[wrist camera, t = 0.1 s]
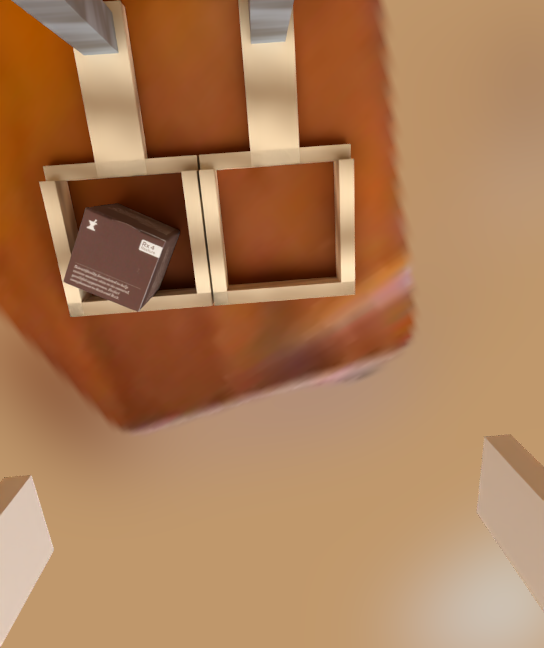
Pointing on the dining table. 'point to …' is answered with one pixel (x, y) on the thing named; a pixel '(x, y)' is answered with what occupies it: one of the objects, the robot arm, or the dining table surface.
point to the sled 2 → (276, 156)
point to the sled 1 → (113, 145)
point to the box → (120, 255)
